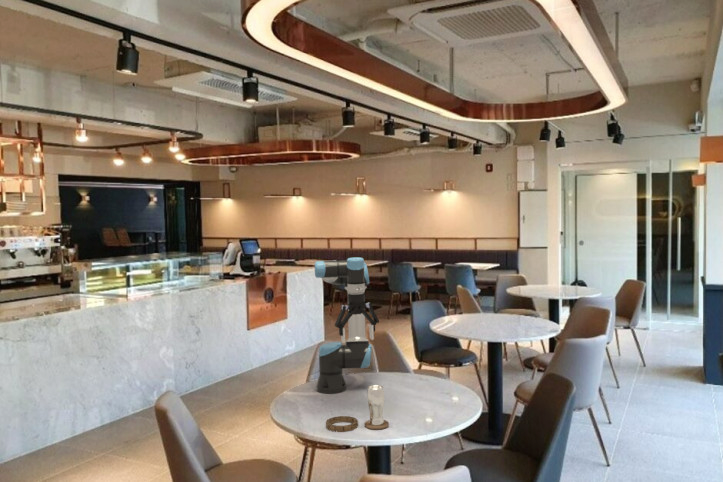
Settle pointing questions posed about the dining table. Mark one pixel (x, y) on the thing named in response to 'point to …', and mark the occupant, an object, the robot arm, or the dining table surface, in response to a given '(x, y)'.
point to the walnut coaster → (376, 426)
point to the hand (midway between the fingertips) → (357, 341)
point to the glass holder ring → (342, 419)
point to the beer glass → (376, 404)
